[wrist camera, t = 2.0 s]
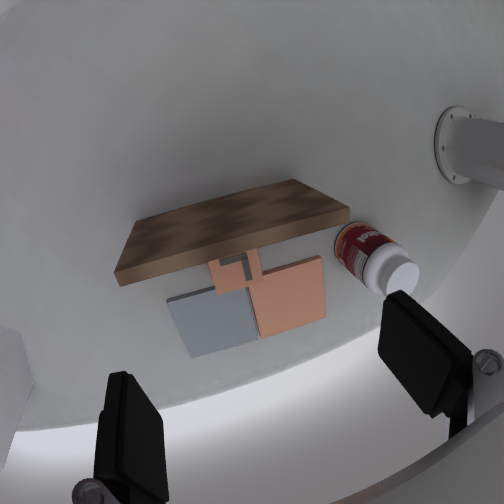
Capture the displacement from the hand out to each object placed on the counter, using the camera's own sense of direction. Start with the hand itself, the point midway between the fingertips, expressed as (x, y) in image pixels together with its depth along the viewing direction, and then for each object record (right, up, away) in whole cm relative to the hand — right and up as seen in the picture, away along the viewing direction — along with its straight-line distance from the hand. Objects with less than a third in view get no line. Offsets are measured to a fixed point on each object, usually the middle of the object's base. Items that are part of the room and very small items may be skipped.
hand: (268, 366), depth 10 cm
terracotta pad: (+4, -2, +29) cm, 29 cm away
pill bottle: (+13, +5, +28) cm, 31 cm away
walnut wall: (-4, +9, +22) cm, 24 cm away
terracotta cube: (-3, +4, +24) cm, 25 cm away
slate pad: (-5, -5, +28) cm, 28 cm away
